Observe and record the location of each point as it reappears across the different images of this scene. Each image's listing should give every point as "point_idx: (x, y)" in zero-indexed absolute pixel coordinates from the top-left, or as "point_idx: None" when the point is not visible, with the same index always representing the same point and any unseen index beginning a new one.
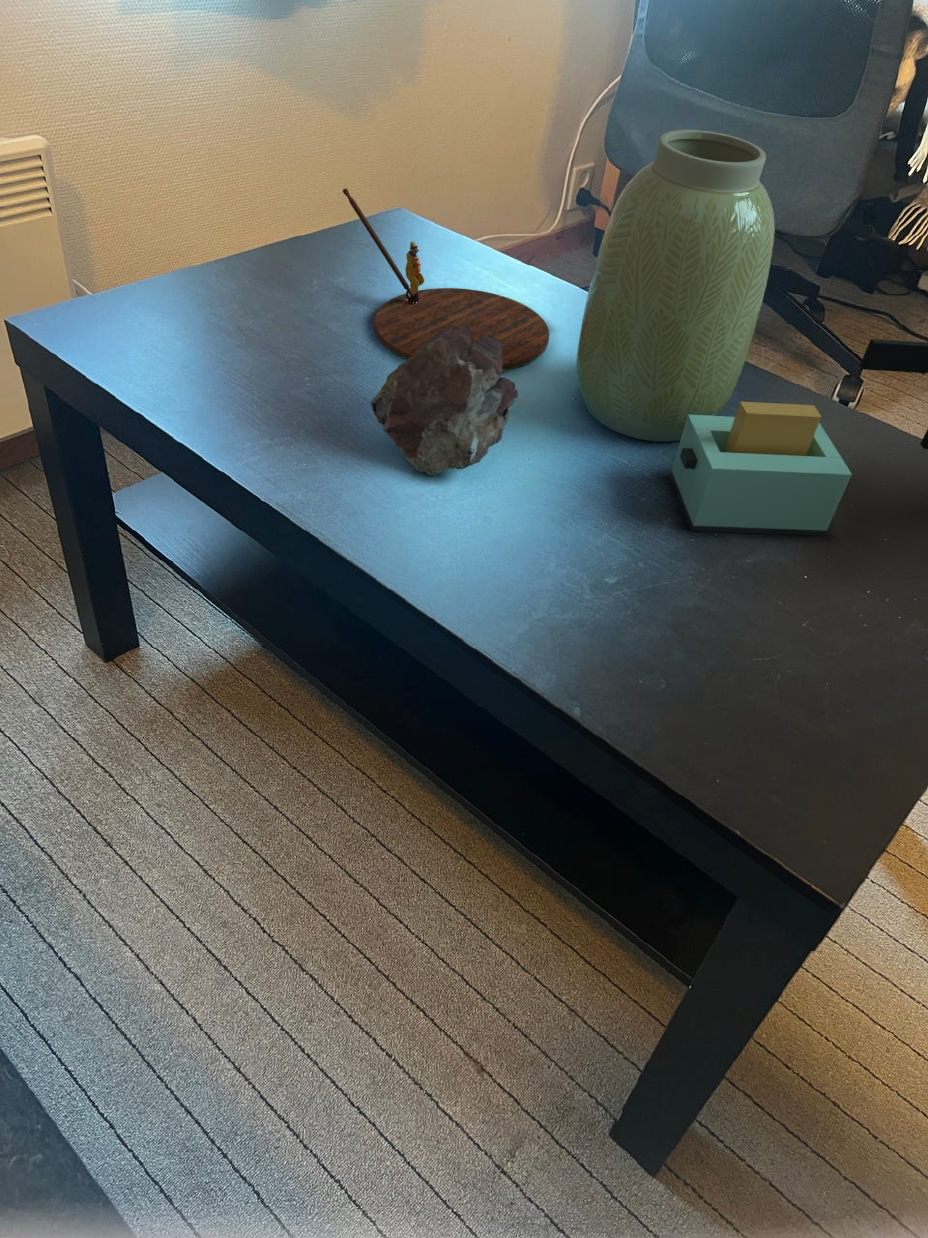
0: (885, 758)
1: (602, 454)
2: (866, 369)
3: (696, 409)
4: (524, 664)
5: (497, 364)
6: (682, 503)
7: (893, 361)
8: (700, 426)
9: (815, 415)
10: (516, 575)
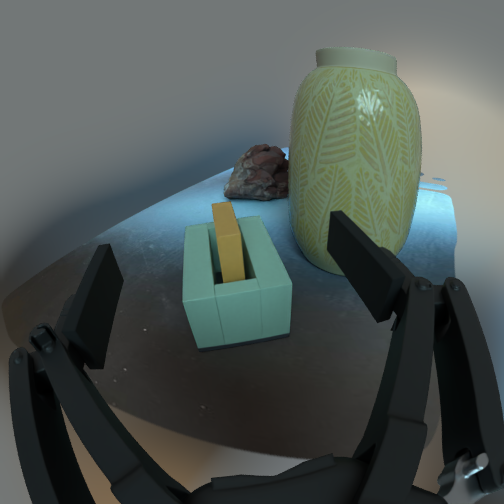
0: (22, 332)
1: (274, 236)
2: (329, 253)
3: (301, 234)
4: (109, 231)
5: (256, 159)
6: None
7: (347, 261)
8: (243, 220)
9: (217, 233)
10: (158, 223)
